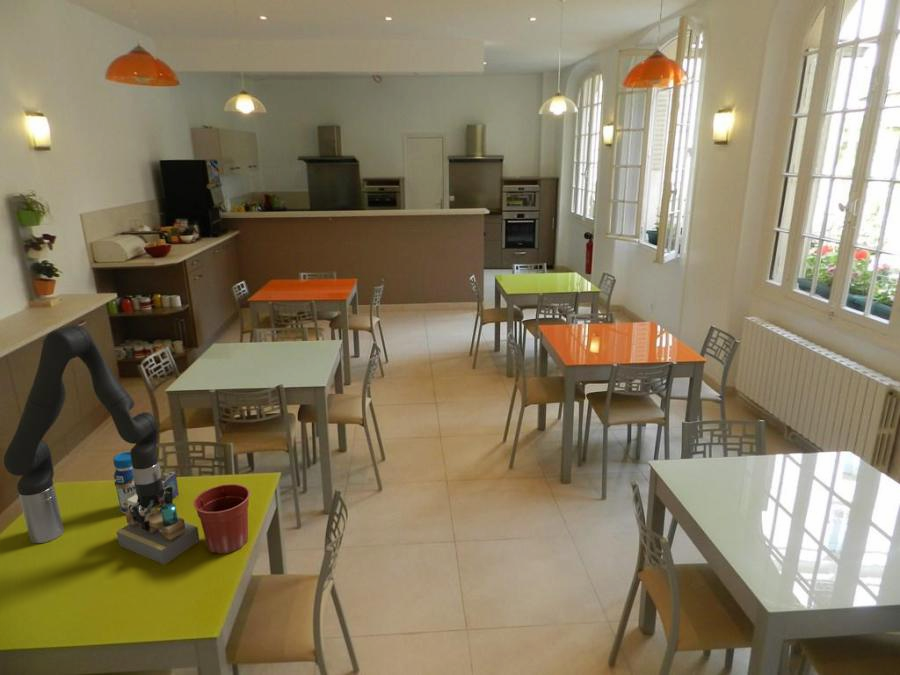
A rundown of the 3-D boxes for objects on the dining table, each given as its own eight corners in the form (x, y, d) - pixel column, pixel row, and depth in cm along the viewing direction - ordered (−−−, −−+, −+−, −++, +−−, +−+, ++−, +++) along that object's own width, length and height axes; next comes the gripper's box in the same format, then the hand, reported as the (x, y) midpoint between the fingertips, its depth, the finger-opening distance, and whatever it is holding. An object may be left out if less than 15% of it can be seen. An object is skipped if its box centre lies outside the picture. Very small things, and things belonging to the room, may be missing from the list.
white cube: (128, 510, 190) (126, 499, 189) (140, 504, 193) (138, 493, 192) (137, 514, 188) (135, 502, 187) (148, 507, 192) (146, 496, 190)
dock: (119, 545, 189) (116, 531, 188) (155, 523, 200) (152, 510, 199) (164, 564, 180) (161, 550, 179) (199, 540, 191) (197, 526, 190)
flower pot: (219, 524, 200) (213, 481, 195) (265, 529, 196) (259, 486, 192) (189, 555, 184) (181, 509, 179) (238, 562, 181) (231, 515, 176)
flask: (165, 507, 210) (161, 480, 206) (158, 506, 210) (153, 479, 207) (180, 493, 218) (176, 466, 215) (173, 492, 219) (168, 466, 216)
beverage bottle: (139, 498, 215) (130, 447, 209) (152, 506, 210) (142, 454, 205) (115, 509, 209) (105, 457, 203) (128, 517, 204) (117, 464, 198)
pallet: (127, 522, 191) (125, 511, 189) (143, 513, 195) (141, 503, 194) (170, 540, 182) (168, 529, 181) (185, 530, 186) (184, 519, 185)
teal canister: (160, 523, 183) (157, 508, 182) (171, 516, 187) (169, 502, 185) (169, 527, 181) (167, 512, 180) (181, 520, 185) (178, 505, 183)
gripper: (159, 464, 191) (167, 510, 196) (117, 485, 179) (127, 534, 184) (176, 469, 188) (183, 516, 193) (134, 491, 176) (143, 541, 181)
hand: (155, 524), depth 188 cm, fingers closed on pallet, 5 cm apart
